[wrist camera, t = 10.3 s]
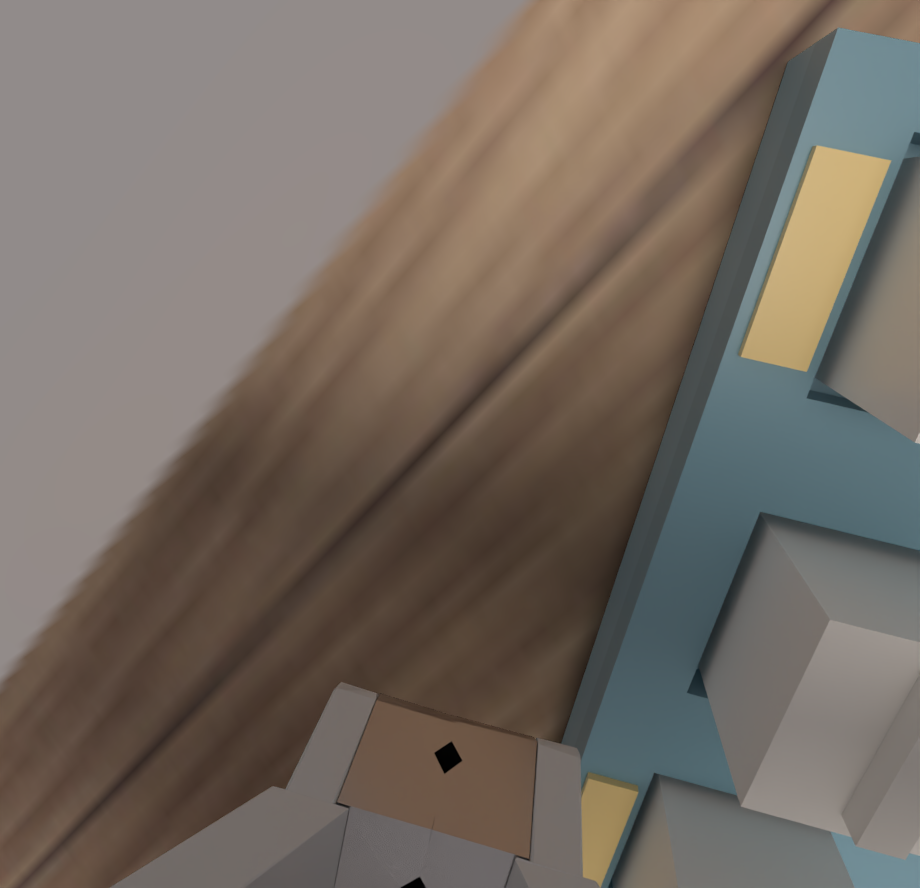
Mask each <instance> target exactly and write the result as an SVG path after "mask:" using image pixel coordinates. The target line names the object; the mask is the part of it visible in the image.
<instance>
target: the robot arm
mask: <svg viewBox="0 0 920 888" xmlns="http://www.w3.org/2000/svg"><path fill="white" fill-rule="evenodd" d="M110 888H600V887H599V885H598V883H597V881H594V880H591V879H588V878H585V877H583V860H582V809H581V759H580V754H579V751H578V749H577V748H575V747H571V746H568V745H564V744H560V743H556V742H552V741H549V740H545V739H541V738H536V739H535V738H534V737H532V736H528V735H525V734H521V733H517V732H514V731H510V730H506V729H503V728H499V727H495V726H491V725H488V724H484V723H480V722H477V721H473V720H469V719H466V718H462V717H458V716H453V715H450V714H447V713H444V712H440V711H437V710H434V709H431V708H427V707H424V706H421V705H418V704H414V703H411V702H408V701H404V700H401V699H398V698H395V697H391V696H388V695H385V694H382V693H380V694H378V693H375V692H371V691H368V690H365V689H362V688H359V687H356V686H353V685H349V684H346V683H343V682H340V684H339V685H338V686H337V687H336V688H335V689H334V690H333V692H332V694H331V697H330V699H329V701H328V703H327V705H326V707H325V709H324V711H323V713H322V715H321V717H320V719H319V721H318V723H317V725H316V727H315V729H314V731H313V733H312V735H311V738H310V740H309V742H308V744H307V746H306V748H305V750H304V752H303V754H302V756H301V758H300V760H299V762H298V764H297V766H296V768H295V770H294V772H293V774H292V776H291V779H290V781H289V783H288V785H287V787H286V789H282V788H279V787H275V786H272V787H270V788H268V789H267V790H265V791H264V792H262V793H260V794H259V795H257V796H256V797H254V798H252V799H251V800H249V801H248V802H246V803H244V804H243V805H241V806H240V807H238V808H236V809H235V810H233V811H232V812H230V813H228V814H227V815H225V816H224V817H222V818H220V819H219V820H217V821H216V822H214V823H212V824H211V825H209V826H208V827H206V828H204V829H203V830H201V831H200V832H198V833H196V834H195V835H193V836H192V837H190V838H188V839H187V840H185V841H183V842H182V843H180V844H179V845H177V846H175V847H174V848H172V849H171V850H169V851H167V852H166V853H164V854H163V855H161V856H159V857H158V858H156V859H155V860H153V861H151V862H150V863H148V864H147V865H145V866H143V867H142V868H140V869H139V870H137V871H135V872H134V873H132V874H131V875H129V876H127V877H126V878H124V879H123V880H121V881H119V882H118V883H116V884H115V885H113V886H111V887H110Z"/></svg>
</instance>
